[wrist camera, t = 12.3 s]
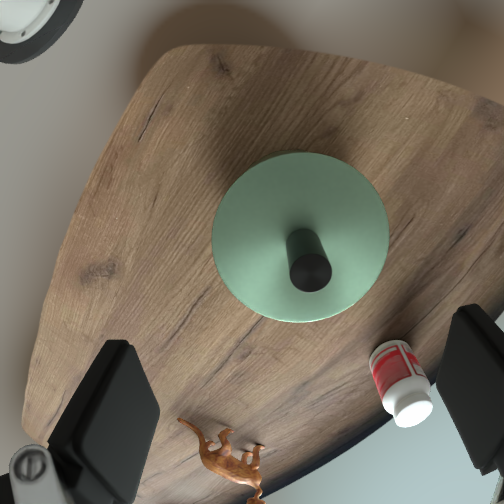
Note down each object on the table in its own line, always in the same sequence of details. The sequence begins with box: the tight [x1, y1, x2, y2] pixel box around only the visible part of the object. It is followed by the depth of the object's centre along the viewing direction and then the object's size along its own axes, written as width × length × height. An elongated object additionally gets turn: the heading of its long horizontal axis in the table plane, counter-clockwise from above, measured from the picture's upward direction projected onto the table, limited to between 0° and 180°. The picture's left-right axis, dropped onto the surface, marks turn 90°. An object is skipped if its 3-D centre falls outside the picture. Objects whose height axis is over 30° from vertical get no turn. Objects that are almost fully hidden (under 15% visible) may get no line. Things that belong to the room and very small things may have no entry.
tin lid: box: [212, 152, 389, 322], centre depth 22 cm, size 14×14×6 cm
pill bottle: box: [369, 340, 433, 427], centre depth 35 cm, size 6×6×11 cm
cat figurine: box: [177, 418, 266, 504], centre depth 41 cm, size 18×7×14 cm, turn 52°
